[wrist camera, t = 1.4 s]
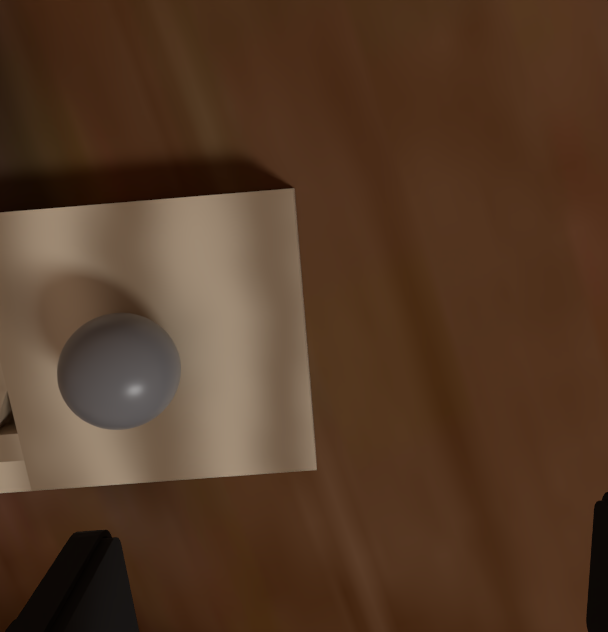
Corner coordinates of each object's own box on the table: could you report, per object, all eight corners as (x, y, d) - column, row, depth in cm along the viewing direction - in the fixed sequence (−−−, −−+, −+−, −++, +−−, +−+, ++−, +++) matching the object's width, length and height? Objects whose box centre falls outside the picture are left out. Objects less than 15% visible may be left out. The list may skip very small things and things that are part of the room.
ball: (201, 316, 24) (176, 350, 19) (179, 411, 25) (150, 465, 20) (96, 289, 23) (42, 315, 18) (79, 386, 24) (24, 435, 20)
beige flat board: (294, 188, 25) (293, 188, 22) (315, 441, 29) (316, 469, 26) (-254, 233, 26) (-326, 239, 23) (-168, 477, 29) (-220, 509, 26)
